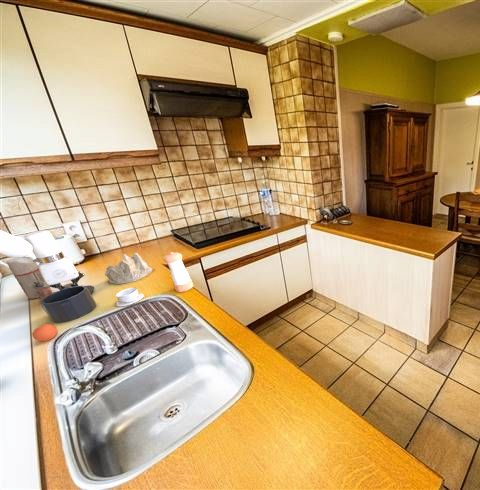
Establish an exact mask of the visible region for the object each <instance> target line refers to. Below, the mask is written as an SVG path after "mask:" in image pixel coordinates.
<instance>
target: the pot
mask: <svg viewBox="0 0 480 490" xmlns="http://www.w3.org/2000/svg"><path fill="white" fill-rule="evenodd" d="M87 286H88V285H78V286H74V287H67V288H64V289H62V290H59V289H58V290H57V291H54V292H52V294H50V295H48V296H46V297H44V298H43V299H42V300H41V299H40V301H39V305H40V306H41V307H42V309H43V310H44V311H45V313H46V315H47V316H48V318H49V319H50V321H51V322H53V323H54V324H64V323H68V322H72V321H75V320H77V319H80V318H82V317H85V316H86V315H88V314H90V313H92V312H93V311H94V310H96V308H97V306H98V305H97V302H96V301H95V298H94V297H93V296H92V294H91V293H92V292H91V293H90V292H89V290H88V288H87Z"/></svg>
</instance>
